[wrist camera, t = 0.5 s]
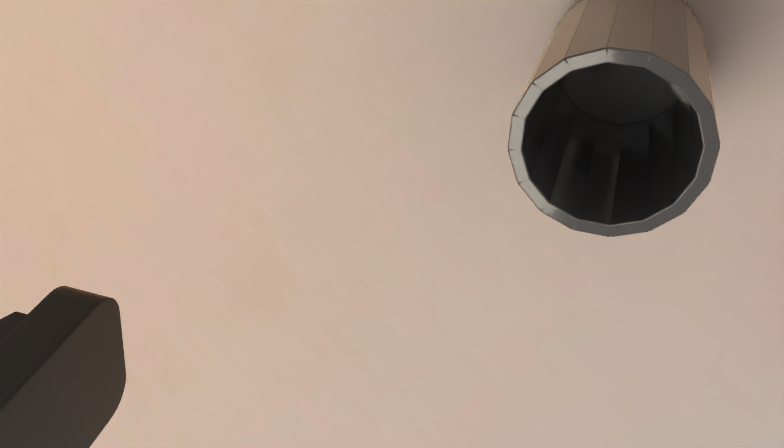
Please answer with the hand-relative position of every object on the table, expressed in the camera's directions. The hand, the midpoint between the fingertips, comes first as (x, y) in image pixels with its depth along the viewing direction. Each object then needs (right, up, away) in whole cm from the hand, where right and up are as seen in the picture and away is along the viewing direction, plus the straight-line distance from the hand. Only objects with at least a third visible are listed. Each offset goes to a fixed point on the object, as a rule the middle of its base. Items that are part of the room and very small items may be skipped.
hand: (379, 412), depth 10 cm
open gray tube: (+9, +9, +19) cm, 23 cm away
